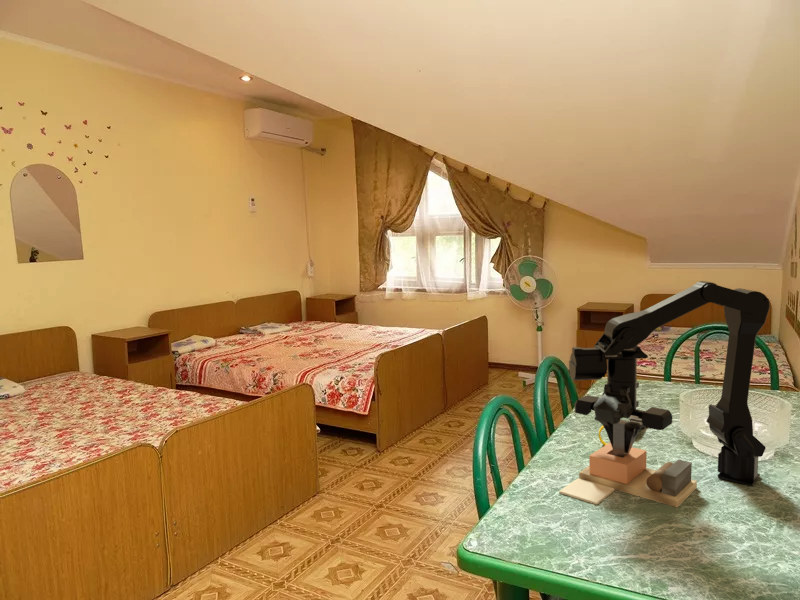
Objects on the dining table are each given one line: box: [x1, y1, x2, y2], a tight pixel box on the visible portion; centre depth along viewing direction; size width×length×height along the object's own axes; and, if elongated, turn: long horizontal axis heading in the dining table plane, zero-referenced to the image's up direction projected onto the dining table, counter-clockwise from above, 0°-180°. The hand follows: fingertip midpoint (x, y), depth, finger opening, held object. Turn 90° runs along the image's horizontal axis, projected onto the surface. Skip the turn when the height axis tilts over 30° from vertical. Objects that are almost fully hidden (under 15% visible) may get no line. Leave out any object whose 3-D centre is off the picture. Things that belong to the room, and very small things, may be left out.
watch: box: [598, 425, 609, 447], centre depth 142 cm, size 6×3×6 cm, turn 70°
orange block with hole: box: [588, 442, 648, 484], centre depth 124 cm, size 8×10×4 cm
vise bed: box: [578, 459, 698, 508], centre depth 121 cm, size 20×11×6 cm, turn 46°
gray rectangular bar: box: [613, 418, 630, 458], centre depth 123 cm, size 2×2×10 cm
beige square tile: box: [559, 478, 616, 505], centre depth 119 cm, size 8×8×1 cm
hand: (621, 450), depth 123 cm, fingers closed on gray rectangular bar, 2 cm apart
